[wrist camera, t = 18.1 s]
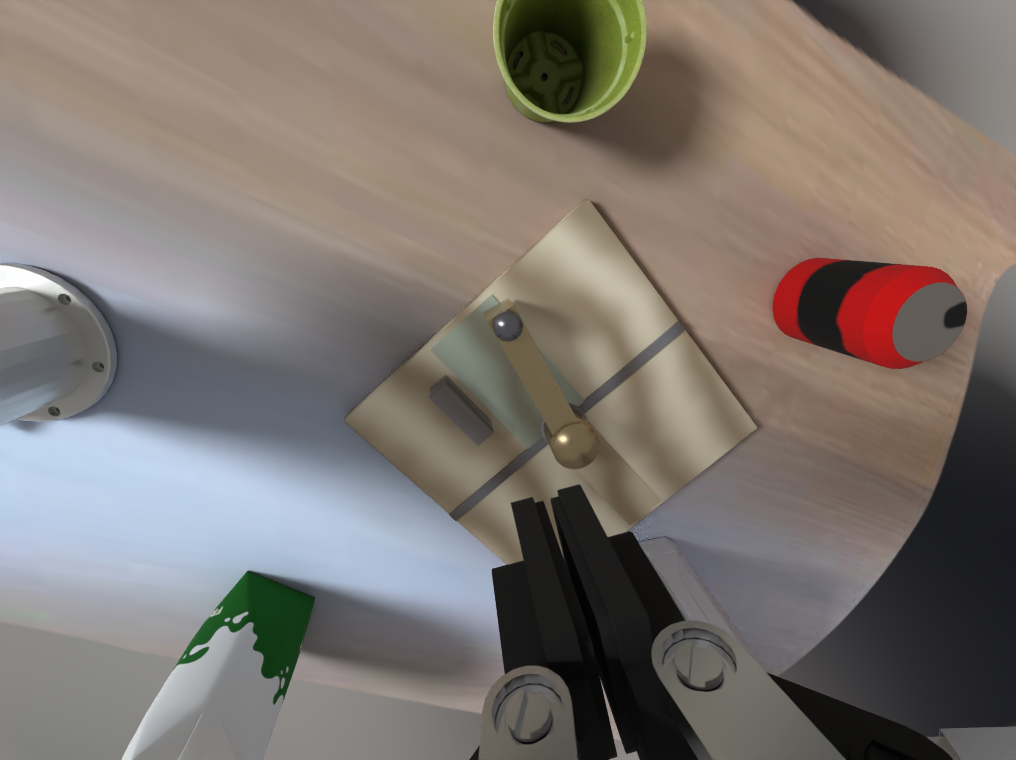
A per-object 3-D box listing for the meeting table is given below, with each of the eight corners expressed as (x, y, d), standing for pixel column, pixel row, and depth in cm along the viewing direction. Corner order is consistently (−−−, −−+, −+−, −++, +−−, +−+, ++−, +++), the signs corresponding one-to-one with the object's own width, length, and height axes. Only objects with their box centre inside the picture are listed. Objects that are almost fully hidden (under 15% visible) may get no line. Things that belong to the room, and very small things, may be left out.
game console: (676, 532, 51) (808, 709, 32) (680, 712, 60) (786, 934, 41) (624, 542, 51) (727, 727, 32) (635, 722, 60) (722, 951, 41)
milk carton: (288, 654, 50) (190, 914, 31) (202, 623, 48) (41, 884, 29) (328, 594, 48) (251, 829, 29) (241, 558, 46) (97, 790, 27)
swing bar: (593, 434, 44) (609, 457, 40) (555, 454, 44) (568, 480, 40) (515, 292, 39) (524, 300, 35) (474, 316, 39) (477, 328, 35)
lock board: (541, 589, 51) (548, 617, 48) (346, 415, 43) (336, 433, 39) (750, 423, 48) (776, 439, 44) (584, 199, 40) (598, 196, 36)
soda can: (845, 326, 46) (975, 358, 35) (772, 347, 46) (879, 386, 34) (844, 248, 44) (983, 255, 32) (766, 270, 43) (879, 284, 32)
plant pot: (518, -24, 34) (540, -102, 26) (625, 51, 37) (676, 0, 28) (461, 104, 36) (465, 68, 28) (566, 167, 39) (597, 151, 30)
